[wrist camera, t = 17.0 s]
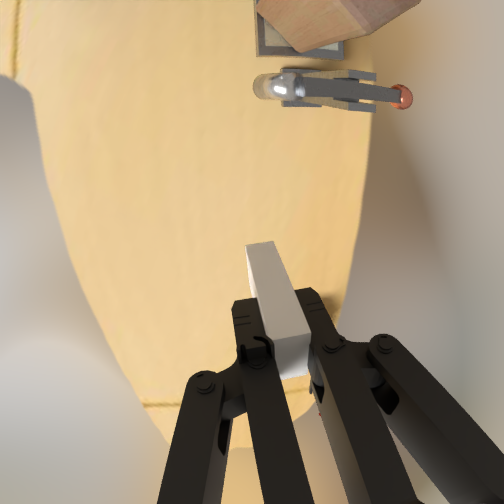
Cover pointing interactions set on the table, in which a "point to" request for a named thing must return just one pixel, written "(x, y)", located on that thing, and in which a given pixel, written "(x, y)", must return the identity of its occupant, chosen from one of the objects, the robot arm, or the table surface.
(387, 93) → the lever
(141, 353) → the table surface
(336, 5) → the wooden block
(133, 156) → the table surface
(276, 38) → the press
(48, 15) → the table surface
